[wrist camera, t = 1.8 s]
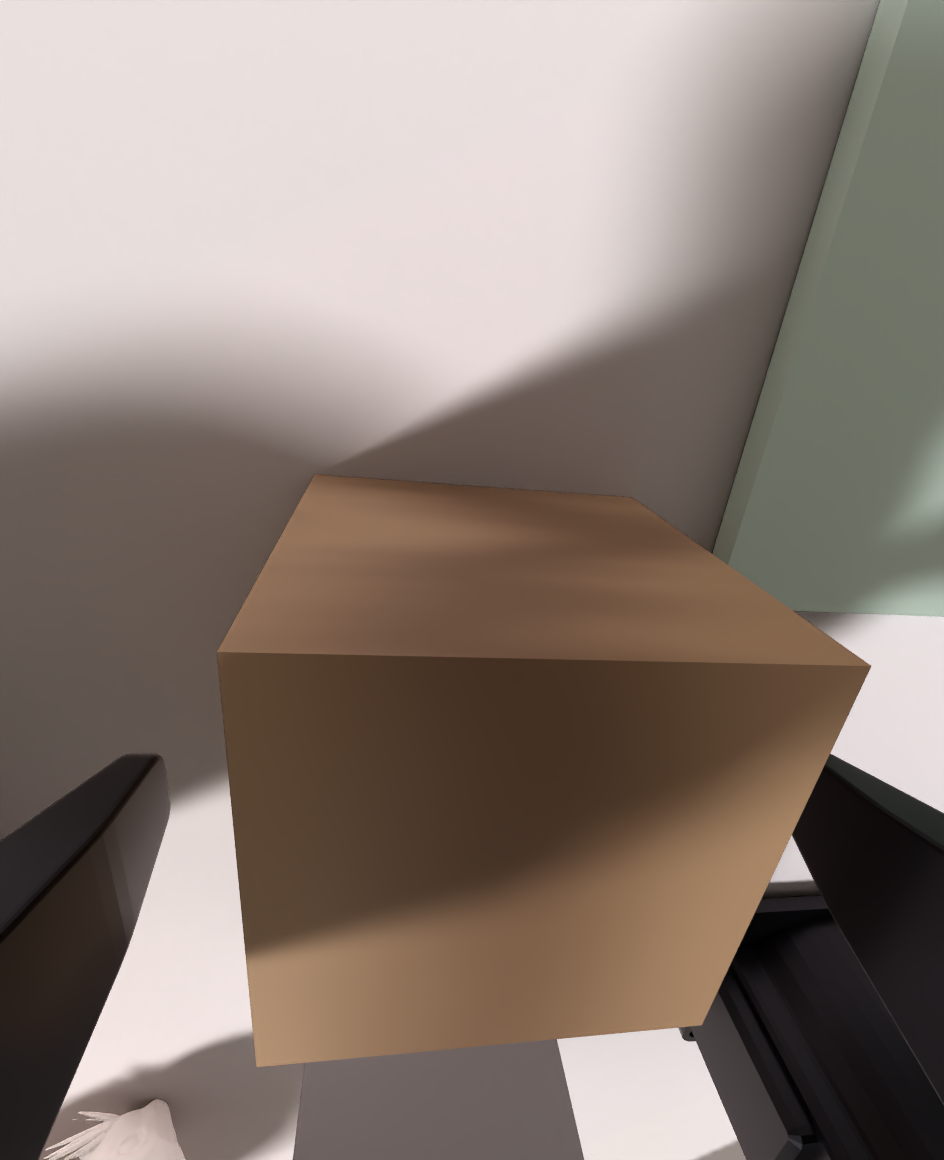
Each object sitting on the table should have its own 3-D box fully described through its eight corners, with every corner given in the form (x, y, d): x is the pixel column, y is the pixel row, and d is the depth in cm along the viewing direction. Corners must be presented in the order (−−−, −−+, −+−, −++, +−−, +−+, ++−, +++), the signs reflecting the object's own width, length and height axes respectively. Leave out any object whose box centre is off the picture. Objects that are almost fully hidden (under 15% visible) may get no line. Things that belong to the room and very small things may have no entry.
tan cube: (630, 496, 11) (872, 665, 5) (574, 738, 13) (701, 1025, 8) (315, 473, 10) (217, 652, 4) (317, 739, 12) (256, 1067, 7)
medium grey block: (531, 929, 16) (601, 1237, 11) (504, 1045, 18) (550, 1345, 13) (319, 941, 15) (277, 1288, 10) (320, 1063, 17) (286, 1395, 12)
